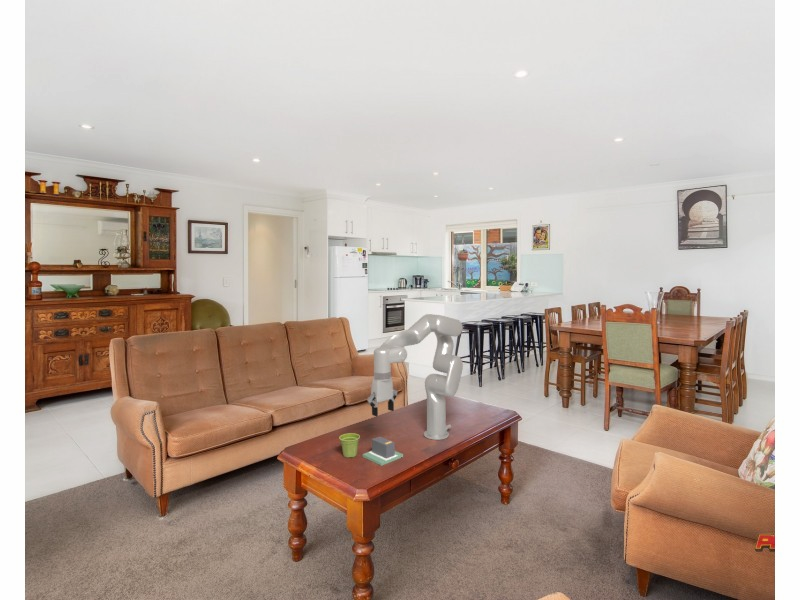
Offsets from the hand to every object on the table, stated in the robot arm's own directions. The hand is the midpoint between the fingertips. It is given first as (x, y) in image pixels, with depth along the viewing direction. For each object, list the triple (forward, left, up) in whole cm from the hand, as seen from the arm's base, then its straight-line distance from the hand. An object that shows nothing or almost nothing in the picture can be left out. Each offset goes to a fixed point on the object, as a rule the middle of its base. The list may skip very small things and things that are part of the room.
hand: (383, 412), depth 206 cm
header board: (0, 0, -20) cm, 20 cm away
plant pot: (+10, -12, -21) cm, 26 cm away
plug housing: (0, 0, -19) cm, 19 cm away
